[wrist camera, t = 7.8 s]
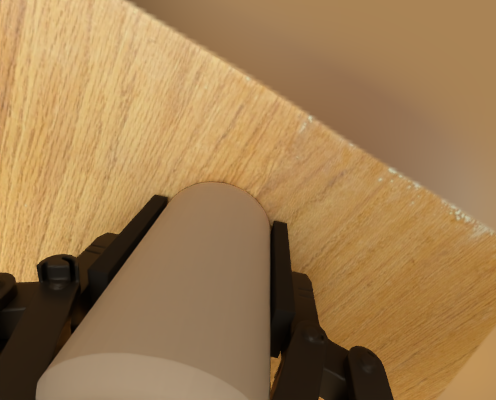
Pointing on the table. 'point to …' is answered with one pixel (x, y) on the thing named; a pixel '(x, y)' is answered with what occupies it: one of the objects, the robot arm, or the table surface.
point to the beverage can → (179, 310)
